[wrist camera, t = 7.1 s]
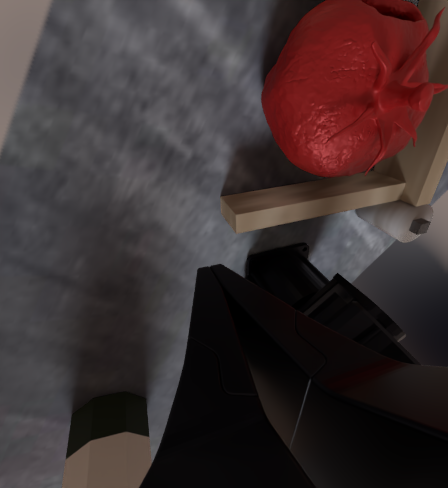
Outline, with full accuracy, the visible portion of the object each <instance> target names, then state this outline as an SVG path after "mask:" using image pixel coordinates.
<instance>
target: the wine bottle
mask: <svg viewBox="0 0 448 488" xmlns="http://www.w3.org/2000/svg"><path fill="white" fill-rule="evenodd" d="M151 465H152V463H151V451H150V439H149V427H148V416H147V404H146V399H145V398H142V397H139V396H136V395H134V394H131V393H128V392H121V393H116V394H111V395H106V396H102V397H97V398H93V399H92V400H91V401H89V402H88V403H87V404H85V405H84V406H83V407H82V408H80V409H79V410H78V411H77V412H75V413H74V414H73V415H72V418H71V425H70V433H69V440H68V447H67V454H66V462H65V469H64V476H63V483H62V488H139V486H140V485H141V483H142V481H143V479H144V477H145V476H146V474H147V472H148V470H149V468H150V466H151Z"/></svg>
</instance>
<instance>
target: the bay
mask: <svg viewBox="0 0 448 488" xmlns="http://www.w3.org/2000/svg"><path fill="white" fill-rule="evenodd" d="M444 7H445V9H444V11H443V12H442V15H441V18H440V31H439V33H438V35H437V37H436V39H435V40H434V41H433V43H432V44H431V45H430V46H429V47H428V49H427V50H426V55H427V56H426V61H427V68H428V71H429V80H428V82H430V83H440V84H443V85H448V0H419V3H418V7H417V8H418V9H419V10H420V12H421V14H422V16H423V17H424V18H425V20H426V21H427V24H428V28H429V31H430V30H431V28H432V27H433V24H434V20H435V17H436V15H437V14H438V13H439V12H440V10H442V9H443V8H444ZM416 133H417V140H416V142H415V146H416V147H414V146H413V139H412V138H411V139H410V141H409V142H408V144H407V145H406V147H405V148H404V149H403V150H401V151H400V152H398V153H397V154H396V155H395V156H393V157H390V158H387V159H384V160H382V161H380V162H379V163H377V164H376V165H375V167H374V171H369V172H368V173H367V174H366V176H365V173H366V172H363V173H357V174H354V175H351V176H342V177H334V178H328V179H322V180H316V181H310V182H304V183H298V184H292V185H286V186H280V187H274V188H268V189H262V190H257V191H251V192H245V193H239V194H233V195H227V196H221V197H220V199H221V214H222V215H223V217H224V218H225V219H226V221H227V222H228V223H229V225H230V226H231V227H232V229H233V230H234V231H235V233H236V234H238V233H242V232H247V231H252V230H257V229H262V228H267V227H271V226H276V225H281V224H286V223H291V222H295V221H300V220H305V219H310V218H315V217H319V216H324V215H329V214H334V213H339V212H343V211H348V210H353V209H355V210H356V214H357V216H358V217H360V218H361V219H363V220H365V221H366V222H368V223H370V224H372V225H373V226H375V227H377V228H378V229H380V230H382V231H383V232H385V233H387V234H389V235H390V236H392V237H394V238H395V239H397V240H399V241H401V242H404V243H405V242H410V241H412V240H414V239H416V238H417V237H418V236H420V235H421V234H423V233H426V232H427V230H428V227H429V225H430V223H431V219H432V216H433V209H432V207H431V206H429V205H427V204H430V202H431V200H432V197H433V195H434V192H435V190H436V187H437V185H438V183H439V180H440V178H441V175H442V173H443V170H444V168H445V166H446V163H447V161H448V88H447V89H445V90H444V91H442V92H439V93H437V94H434V95H433V98H432V101H431V104H430V106H429V108H428V110H427V112H426V114H425V116H424V118H423V120H422V122H421V123H420V125H419V126H418V127H417V129H416Z"/></svg>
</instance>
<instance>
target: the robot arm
mask: <svg viewBox="0 0 448 488" xmlns="http://www.w3.org/2000/svg"><path fill="white" fill-rule="evenodd" d="M303 248H304V249H303ZM308 252H309V246H308V245H307V244H306V243H301V244H297V245H292V246H288V247H284V248H280V249H275V250H271V251H267V252H262V253H258V254H254V255H251V256H249V257H248V258H247V276H246V277H245V278H243V277H242V276H240V275H239V274H237V273H235V272H234V271H232V270H230V269H229V268H227V267H225V266H224V265H222V264H217V265H212V266H210V267H208V266H207V267H202V268H198V270H197V277H196V284H195V292H194V299H193V306H192V313H191V321H190V328H189V335H188V341H187V349H186V354H185V360H184V365H183V369H182V373H181V377H180V381H179V385H178V388H177V391H176V395H175V398H174V401H173V405H172V408H171V411H170V415H169V418H168V421H167V425H166V428H165V431H164V434H163V437H162V440H161V443H160V446H159V448H158V451H157V454H156V456H155V458H154V461H153V463H152V465H151V466H150V468H149V470H148V472H147V474H146V476H145V477H144V479H143V481H142V483H141V485H140V486H139V488H448V367H437V366H425V365H421V364H419V362H418V361H417V360H416V359H415V358H414V357H413V356H412V355H411V354H410V353H409V352H408V351H407V350H406V349H405V348H404V347H403V346H402V345H401V344H400V343H399V341H400V340H402V339H403V338H404V337H405V336H406V334H405V333H404V332H403V331H402V330H401V329H400V328H399V326H398V325H397V324H396V323H395V322H394V321H393V320H392V319H391V318H390V317H389V316H388V315H387V314H385V313H384V312H383V311H382V310H381V309H380V308H379V307H378V306H377V305H376V304H375V303H374V302H372V301H371V300H370V299H369V298H368V297H367V296H365V295H364V294H363V293H362V292H360V291H359V290H358V289H357V288H356V287H354V286H353V285H352V284H351V283H349V282H348V281H347V280H346V279H345V278H343V277H342V276H341V275H340V274H338V273H337V274H336V275H335V276H334V277H333V279H332V280H331V281H329V280H328V279H327V278H326V277H325V276H324V275H323V274H322V273H321V272H320V271H319V270H318V269H317V268H316V267H315V266H313V265H312V264H311V263H310V262H309V261H308V260H307V259H308ZM253 259H254V260H253ZM252 260H253V261H252Z"/></svg>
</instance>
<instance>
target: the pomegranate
mask: <svg viewBox="0 0 448 488" xmlns="http://www.w3.org/2000/svg"><path fill="white" fill-rule="evenodd" d="M444 9H445V7H444V8H443V9H442V10H440V12H439V13H438V14H437V15H436V17H435V20H434V24H433V27H432V28H431V30H430V31H429V28H428V24H427V21H426V20H425V18H424V17H423V16H422V14H421V12H420V10H419V9H418V8H417V7H416V6H415V5H414V4H413V3H410V2H408V1H403V0H325V1H324V2H322V3H320V4H319V5H317V6H316V7H314V8H313V9H312V10H310V11H309V12H308V13H306V14H305V15H304V16H303V18H302V19H301V20H300V21H299V23H298V24H297V26H296V27H295V28H294V29H293V30H292V31H291V33H290V35H289V38H288V41H287V43H286V45H285V46H284V48H283V50H282V52H281V54H280V56H279V57H278V61H277V63H276V64H275V65H274V66H273V68H272V69H271V71H270V72H269V73H268V74H267V76H266V79H265V84H264V88H263V91H262V94H261V95H262V98H261V102H262V107H263V111H264V114H265V117H266V120H267V123H268V125H269V127H270V129H271V131H272V135H273V137H274V139H275V141H276V143H277V144H278V146H279V147H280V148H281V150H282V151H283V153H284V154H285V155H286V157H287V158H288V159H289V161H290V162H291V163H293V164H294V165H295V166H297V167H299V168H300V169H302V170H304V171H306V172H309V173H311V174H314V175H317V176H320V177H330V178H332V177H342V176H351V175H354V174H357V173H362V172H363V171H365V170H367V169H368V170H367V171H366V173H365V176H366V174H367V173H368V171H369V170H370V169H371V168H372V167H373V166H374V165H376V164H377V163H379V162H380V161H382V160H384V159H387V158H390V157H393V156H395V155H396V154H397V153H398V152H400V151H401V150H403V149H404V148H405V147H406V145H407V144H408V142H409V141H410V139H411V138H412V139H413V146H414V147H416V146H415V142H416V140H417V133H416V129H417V127H418V126H419V125H420V123H421V122H422V120H423V118H424V116H425V114H426V112H427V110H428V108H429V106H430V104H431V101H432V98H433V95H434V94H437V93H439V92H442V91H444V90H445V89H447V88H448V85H443V84H440V83H430V82H428V80H429V71H428V68H427V61H426V56H427V55H426V50H427V49H428V47H429V46H430V45H431V44H432V43H433V41H434V40H435V39H436V37H437V35H438V33H439V31H440V18H441V15H442V12H443V11H444Z"/></svg>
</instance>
